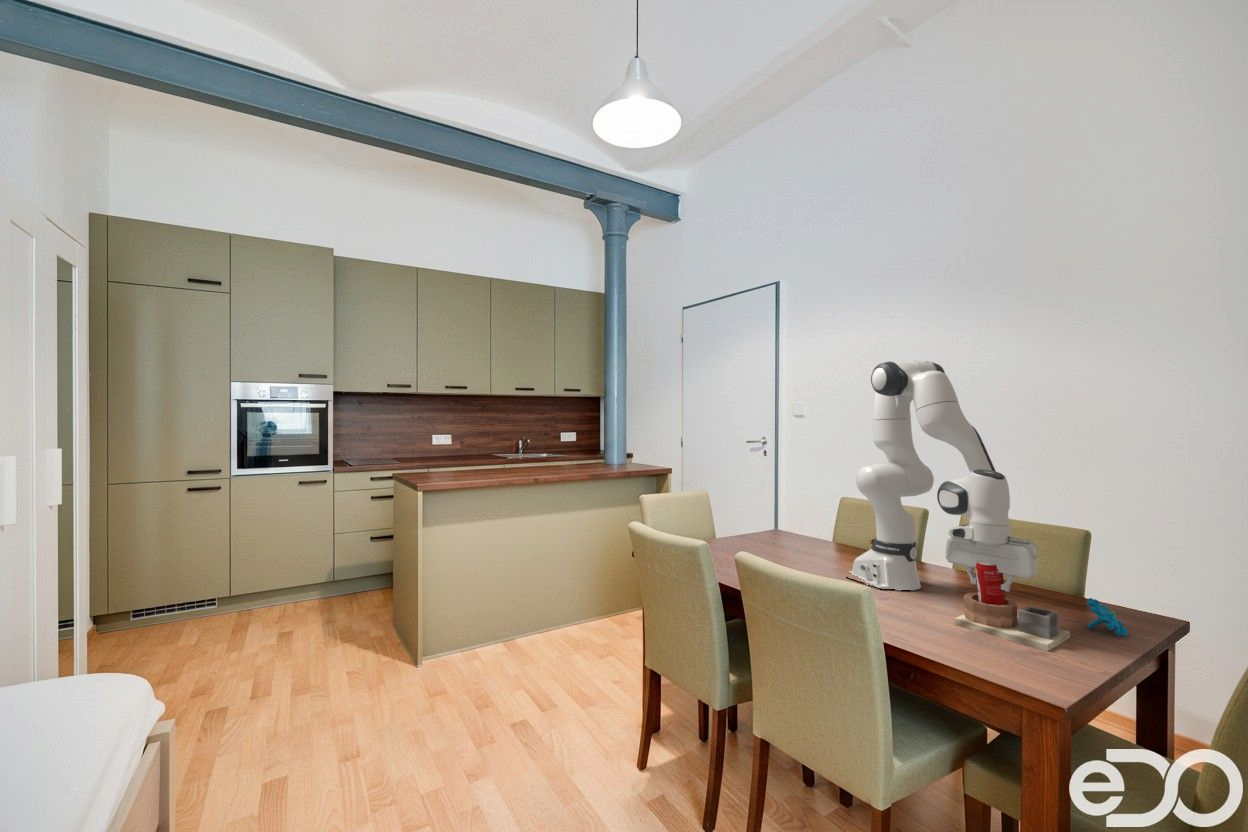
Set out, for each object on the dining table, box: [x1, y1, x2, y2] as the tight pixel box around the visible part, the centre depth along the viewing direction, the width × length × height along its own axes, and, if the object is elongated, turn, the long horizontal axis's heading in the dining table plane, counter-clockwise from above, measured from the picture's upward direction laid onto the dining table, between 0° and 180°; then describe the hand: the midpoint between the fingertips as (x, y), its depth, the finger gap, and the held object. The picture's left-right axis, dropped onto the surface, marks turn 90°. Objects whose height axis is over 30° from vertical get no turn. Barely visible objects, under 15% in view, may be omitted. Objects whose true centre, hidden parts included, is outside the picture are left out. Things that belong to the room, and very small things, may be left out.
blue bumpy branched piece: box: [1086, 597, 1129, 637], centre depth 136 cm, size 11×6×10 cm
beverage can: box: [975, 562, 1006, 605], centre depth 139 cm, size 6×6×15 cm
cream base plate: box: [953, 592, 1071, 652], centre depth 135 cm, size 20×14×6 cm
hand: (989, 587), depth 139 cm, fingers closed on beverage can, 6 cm apart
